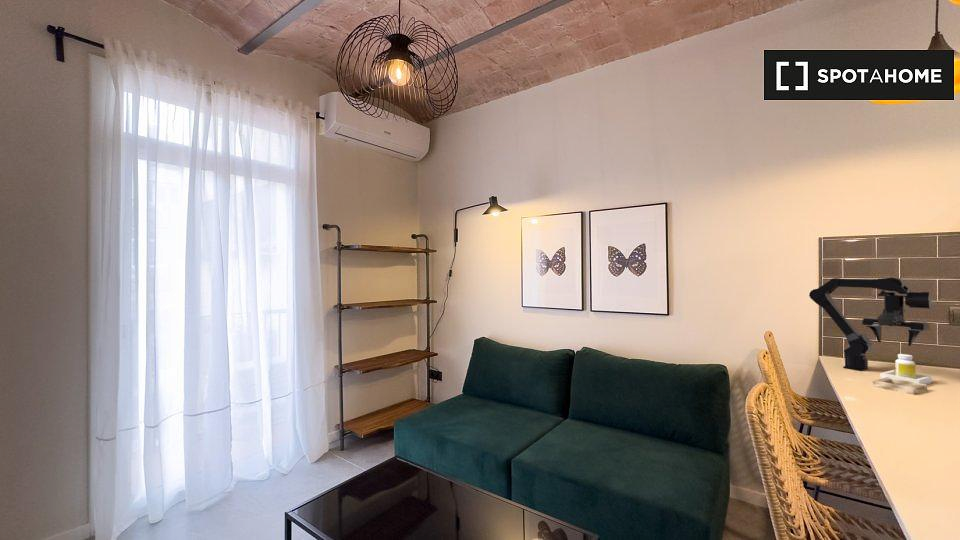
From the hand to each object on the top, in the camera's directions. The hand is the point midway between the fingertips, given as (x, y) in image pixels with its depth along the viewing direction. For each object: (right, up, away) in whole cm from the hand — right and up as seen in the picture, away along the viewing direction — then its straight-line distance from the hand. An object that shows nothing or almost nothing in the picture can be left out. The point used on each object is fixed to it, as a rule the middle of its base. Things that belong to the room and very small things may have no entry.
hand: (894, 343), depth 164 cm
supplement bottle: (-5, -13, -8) cm, 16 cm away
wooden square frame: (-16, -14, -17) cm, 27 cm away
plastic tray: (-5, -13, -9) cm, 16 cm away
